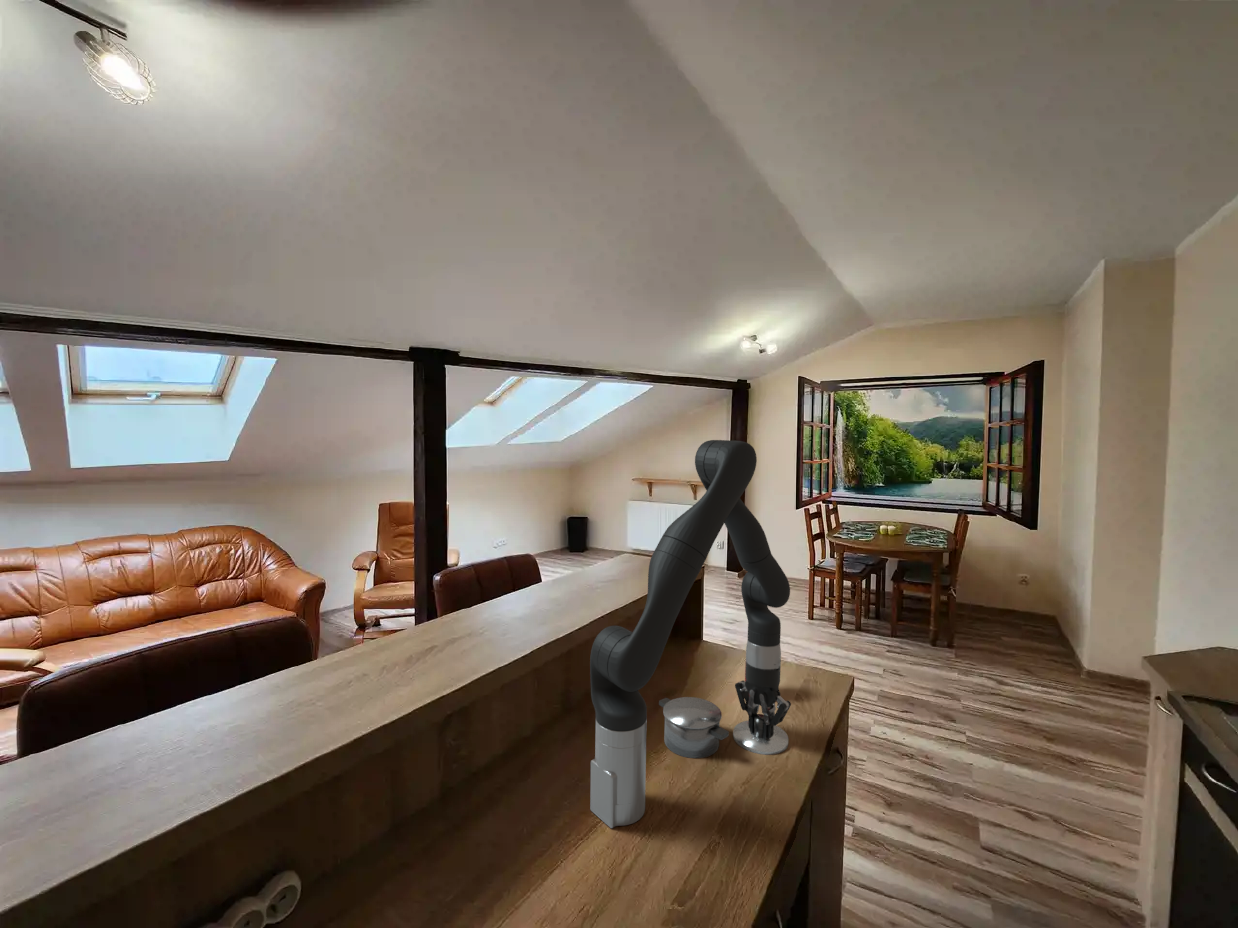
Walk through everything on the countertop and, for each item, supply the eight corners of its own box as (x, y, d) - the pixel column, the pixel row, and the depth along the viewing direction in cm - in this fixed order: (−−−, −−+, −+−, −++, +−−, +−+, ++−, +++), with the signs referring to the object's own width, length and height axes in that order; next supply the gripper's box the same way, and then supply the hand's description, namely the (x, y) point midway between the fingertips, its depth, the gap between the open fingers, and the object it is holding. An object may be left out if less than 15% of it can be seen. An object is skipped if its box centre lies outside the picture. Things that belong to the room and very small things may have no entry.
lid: (767, 761, 116) (768, 738, 115) (722, 736, 125) (722, 715, 124) (798, 740, 123) (799, 719, 123) (754, 718, 132) (754, 698, 132)
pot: (704, 773, 111) (704, 740, 111) (642, 733, 125) (642, 704, 125) (743, 749, 119) (744, 718, 119) (681, 714, 133) (681, 687, 133)
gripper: (727, 654, 125) (725, 727, 127) (780, 676, 115) (778, 755, 116) (747, 645, 130) (745, 716, 132) (800, 666, 120) (797, 742, 121)
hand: (760, 734), depth 124 cm, fingers closed on lid, 3 cm apart
